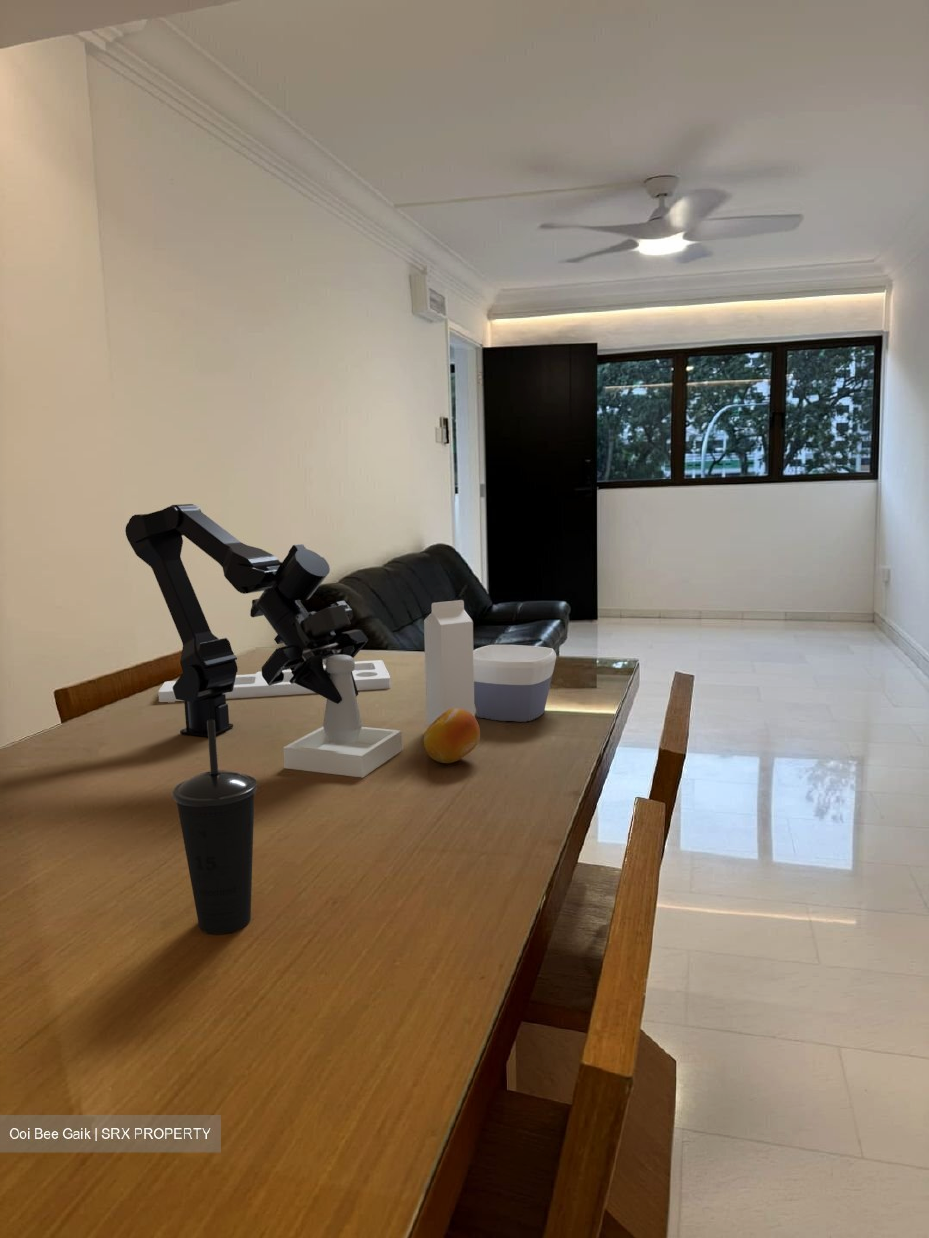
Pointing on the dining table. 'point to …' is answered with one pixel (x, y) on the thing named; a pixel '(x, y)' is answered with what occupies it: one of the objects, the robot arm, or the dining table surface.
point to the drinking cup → (218, 842)
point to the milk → (448, 659)
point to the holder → (255, 686)
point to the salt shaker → (342, 702)
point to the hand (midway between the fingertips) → (348, 699)
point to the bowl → (512, 681)
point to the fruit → (452, 736)
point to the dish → (343, 752)
